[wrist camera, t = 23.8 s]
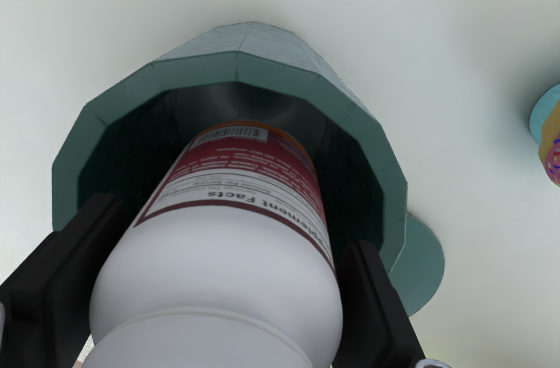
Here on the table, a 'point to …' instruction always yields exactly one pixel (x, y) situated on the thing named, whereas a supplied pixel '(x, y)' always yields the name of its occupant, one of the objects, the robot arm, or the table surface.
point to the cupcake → (548, 131)
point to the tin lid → (418, 266)
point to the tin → (230, 106)
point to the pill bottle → (223, 263)
